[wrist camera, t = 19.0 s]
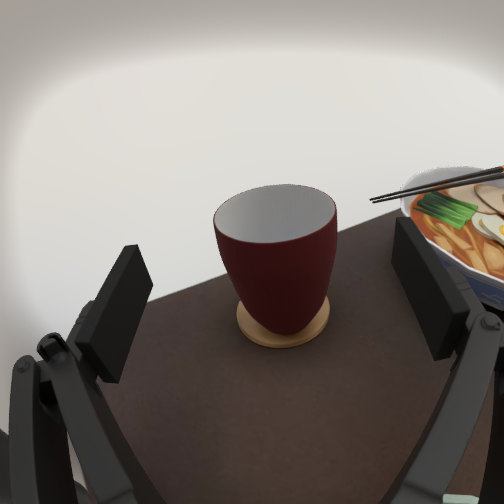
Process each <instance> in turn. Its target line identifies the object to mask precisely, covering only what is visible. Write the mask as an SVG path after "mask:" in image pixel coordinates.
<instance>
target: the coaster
mask: <svg viewBox="0 0 504 504" xmlns="http://www.w3.org/2000/svg"><path fill="white" fill-rule="evenodd" d="M329 313H330V306H329V301H328V298H327V296H326V297H325V300H324V303H323V305H322V307H321V308H320V310H319V311H318V313H317V314H316V316H315V317H314V318H313V319H312V321H311V322H310V323H309V324H308V325H307V326H306V327H305V328H304V329H303V330H301V331H299V332H297V333H295V334H291V335H278V334H275V333H272V332H270V331H268V330H267V329H266V328H264V327H263V326H262V325H261V324H259V323H258V322H257V321H256V320H255V319H253V318H252V317H251V315H250V314H249V313H248V312H247V310H246V309H245V307H244V306H243V304H242V302H241V300H240V302H239V305H238V307H237V320H238V324H239V327H240V329H241V331H242V332H243V333H244V335H245V336H246V337H248V338H249V339H250V340H252V341H253V342H255V343H257V344H259V345H262V346H266V347H271V348H289V347H294V346H298V345H301V344H304V343H306V342H308V341H310V340H312V339H313V338H315V337H316V336H317V335H318V334H319V333H320V332H321V331H322V330H323V329H324V327H325V326H326V324H327V322H328V319H329Z"/></svg>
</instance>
